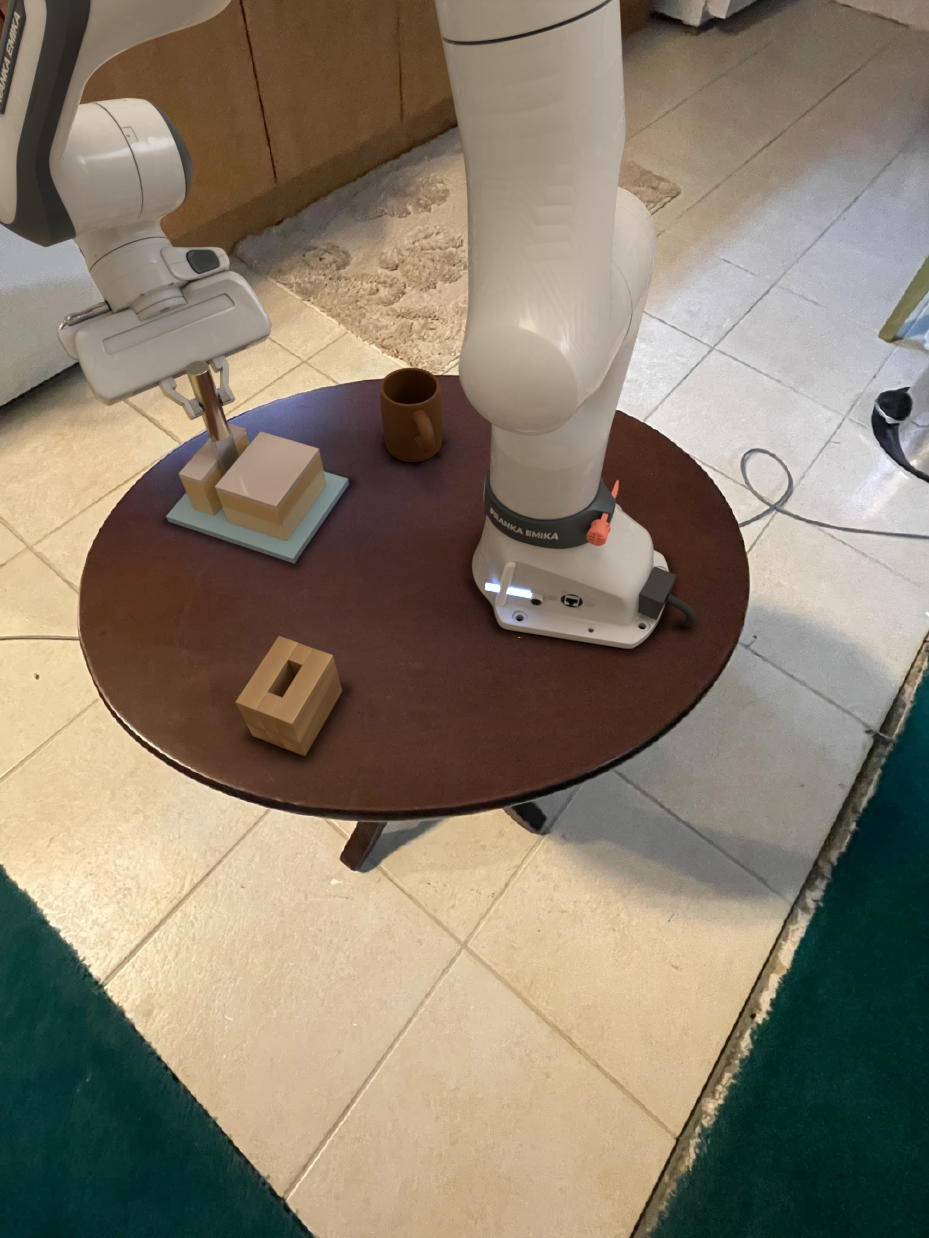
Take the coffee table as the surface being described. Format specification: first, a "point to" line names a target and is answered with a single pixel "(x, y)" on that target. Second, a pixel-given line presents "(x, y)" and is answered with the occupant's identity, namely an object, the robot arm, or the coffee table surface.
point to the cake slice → (208, 474)
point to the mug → (411, 414)
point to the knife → (213, 414)
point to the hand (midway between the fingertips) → (213, 410)
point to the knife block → (290, 695)
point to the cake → (269, 499)
